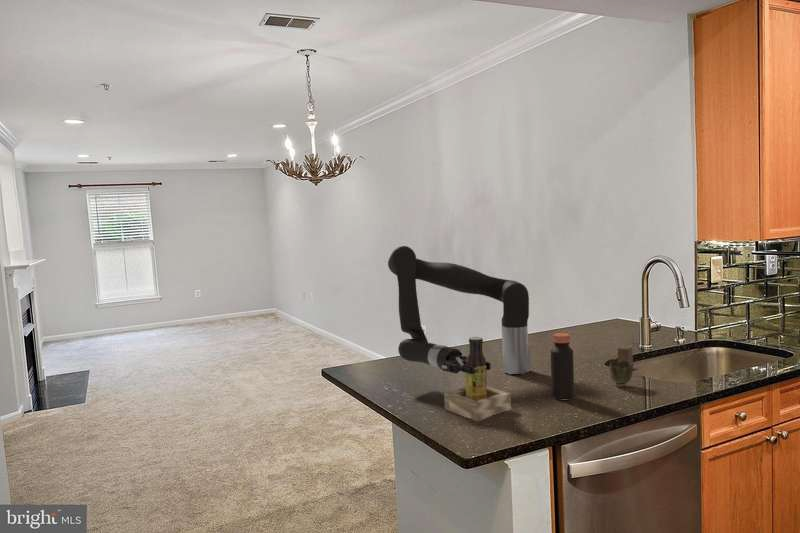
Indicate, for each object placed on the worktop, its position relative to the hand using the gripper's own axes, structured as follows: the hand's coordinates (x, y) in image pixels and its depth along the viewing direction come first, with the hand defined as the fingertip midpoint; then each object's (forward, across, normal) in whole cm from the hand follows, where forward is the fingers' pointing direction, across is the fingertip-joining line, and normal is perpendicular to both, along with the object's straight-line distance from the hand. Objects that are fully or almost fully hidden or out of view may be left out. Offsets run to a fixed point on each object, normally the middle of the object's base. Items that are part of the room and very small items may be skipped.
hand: (481, 368), depth 173 cm
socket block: (-2, 0, +13) cm, 13 cm away
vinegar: (+8, +27, +13) cm, 31 cm away
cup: (+14, +49, +13) cm, 53 cm away
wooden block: (+3, +68, +13) cm, 69 cm away
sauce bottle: (-2, 0, +11) cm, 11 cm away
